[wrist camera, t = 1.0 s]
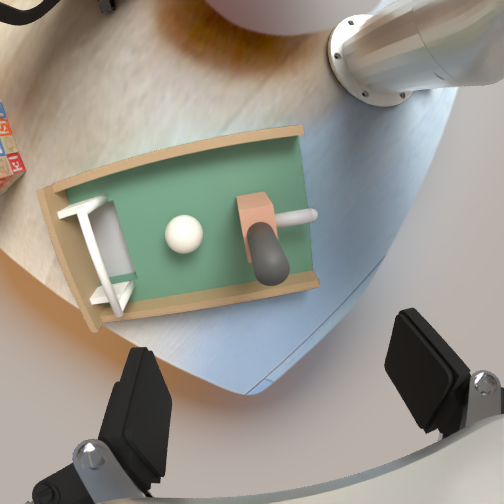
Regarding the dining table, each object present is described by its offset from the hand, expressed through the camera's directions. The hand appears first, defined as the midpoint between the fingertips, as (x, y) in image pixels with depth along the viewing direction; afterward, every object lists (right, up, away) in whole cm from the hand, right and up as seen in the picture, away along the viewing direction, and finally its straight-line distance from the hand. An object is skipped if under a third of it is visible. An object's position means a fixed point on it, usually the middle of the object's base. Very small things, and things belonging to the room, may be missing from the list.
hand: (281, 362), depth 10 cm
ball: (-8, +6, +20) cm, 22 cm away
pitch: (-9, +8, +24) cm, 26 cm away
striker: (+1, +8, +21) cm, 23 cm away
